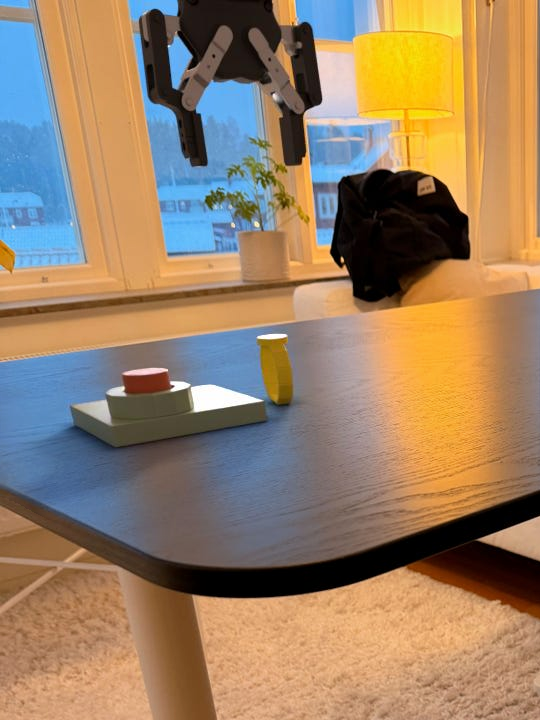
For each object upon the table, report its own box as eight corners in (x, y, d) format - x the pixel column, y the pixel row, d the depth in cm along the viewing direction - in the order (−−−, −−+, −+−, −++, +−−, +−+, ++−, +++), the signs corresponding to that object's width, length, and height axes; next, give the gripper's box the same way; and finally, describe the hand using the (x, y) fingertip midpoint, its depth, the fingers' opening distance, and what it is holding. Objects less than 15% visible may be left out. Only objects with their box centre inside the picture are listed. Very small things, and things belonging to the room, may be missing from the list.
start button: (134, 399, 70) (129, 377, 70) (120, 393, 73) (115, 372, 72) (178, 393, 72) (174, 371, 72) (163, 387, 75) (159, 366, 74)
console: (115, 447, 69) (105, 402, 68) (73, 424, 78) (64, 384, 76) (268, 420, 76) (262, 379, 74) (214, 402, 85) (207, 364, 83)
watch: (258, 398, 85) (248, 334, 83) (285, 395, 86) (277, 331, 84) (274, 408, 81) (264, 340, 78) (303, 405, 82) (295, 337, 79)
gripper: (279, -50, 74) (303, 168, 81) (106, -74, 67) (149, 169, 74) (321, -73, 69) (343, 163, 76) (138, -102, 61) (181, 164, 68)
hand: (247, 166), depth 75 cm, fingers open, 8 cm apart
